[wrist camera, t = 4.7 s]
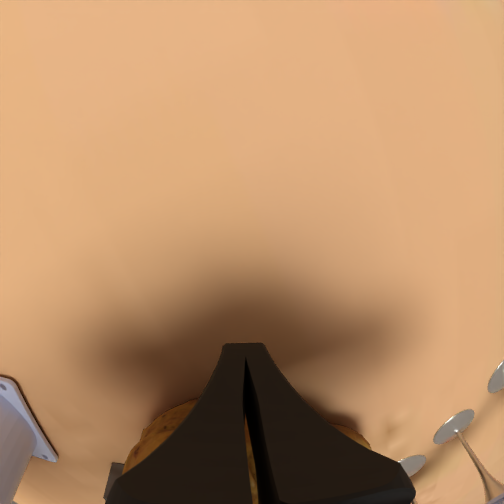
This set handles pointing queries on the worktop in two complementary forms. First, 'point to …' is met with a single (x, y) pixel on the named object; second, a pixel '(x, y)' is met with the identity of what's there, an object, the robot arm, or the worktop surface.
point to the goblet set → (463, 441)
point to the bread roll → (172, 420)
